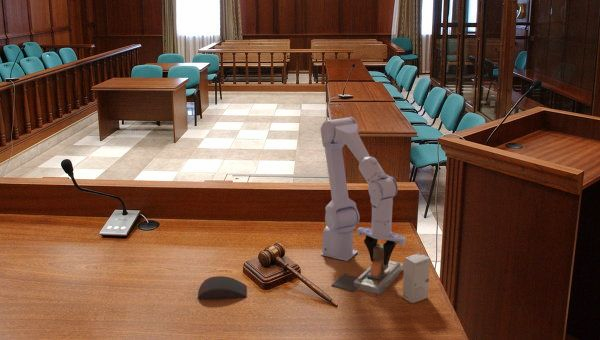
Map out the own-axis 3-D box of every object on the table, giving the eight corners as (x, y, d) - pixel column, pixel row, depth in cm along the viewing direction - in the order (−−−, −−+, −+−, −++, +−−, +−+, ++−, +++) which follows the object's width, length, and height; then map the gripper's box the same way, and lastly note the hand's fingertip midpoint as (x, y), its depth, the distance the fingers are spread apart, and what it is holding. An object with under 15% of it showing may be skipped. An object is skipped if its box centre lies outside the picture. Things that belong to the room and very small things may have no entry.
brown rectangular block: (372, 269, 180) (373, 246, 177) (377, 264, 182) (378, 242, 180) (383, 272, 178) (384, 249, 176) (388, 267, 181) (389, 244, 178)
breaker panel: (353, 288, 175) (353, 279, 174) (378, 263, 190) (379, 255, 189) (379, 295, 171) (379, 286, 170) (403, 269, 186) (403, 261, 185)
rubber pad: (331, 285, 176) (331, 284, 176) (344, 274, 183) (344, 273, 183) (353, 291, 173) (353, 290, 173) (365, 280, 180) (365, 279, 179)
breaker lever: (366, 276, 177) (366, 264, 176) (372, 270, 180) (372, 259, 179) (379, 279, 175) (379, 268, 174) (384, 274, 178) (385, 262, 177)
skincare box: (412, 303, 167) (414, 263, 163) (401, 297, 170) (403, 257, 167) (428, 297, 170) (431, 258, 166) (417, 291, 174) (419, 252, 170)
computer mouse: (199, 288, 176) (198, 275, 175) (246, 286, 177) (246, 273, 176) (197, 302, 168) (196, 289, 167) (246, 300, 169) (246, 287, 168)
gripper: (410, 219, 175) (408, 262, 179) (364, 209, 182) (363, 251, 186) (401, 227, 169) (399, 271, 173) (354, 217, 176) (352, 260, 180)
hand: (379, 262), depth 179 cm, fingers closed on brown rectangular block, 3 cm apart
